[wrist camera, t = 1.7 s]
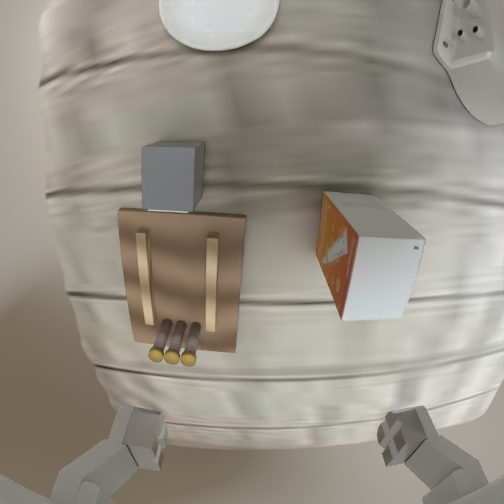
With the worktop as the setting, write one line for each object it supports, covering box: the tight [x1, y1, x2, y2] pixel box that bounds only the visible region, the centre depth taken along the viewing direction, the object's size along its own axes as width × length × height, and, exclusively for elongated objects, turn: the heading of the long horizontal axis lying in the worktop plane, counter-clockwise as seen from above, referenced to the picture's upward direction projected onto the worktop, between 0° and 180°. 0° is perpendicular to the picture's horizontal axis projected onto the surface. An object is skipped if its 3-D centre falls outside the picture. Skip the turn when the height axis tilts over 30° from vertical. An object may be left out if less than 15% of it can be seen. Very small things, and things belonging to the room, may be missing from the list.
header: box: [118, 208, 246, 366], centre depth 35 cm, size 20×15×8 cm
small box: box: [316, 191, 426, 321], centre depth 29 cm, size 8×6×13 cm
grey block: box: [142, 141, 205, 213], centre depth 29 cm, size 6×5×6 cm
